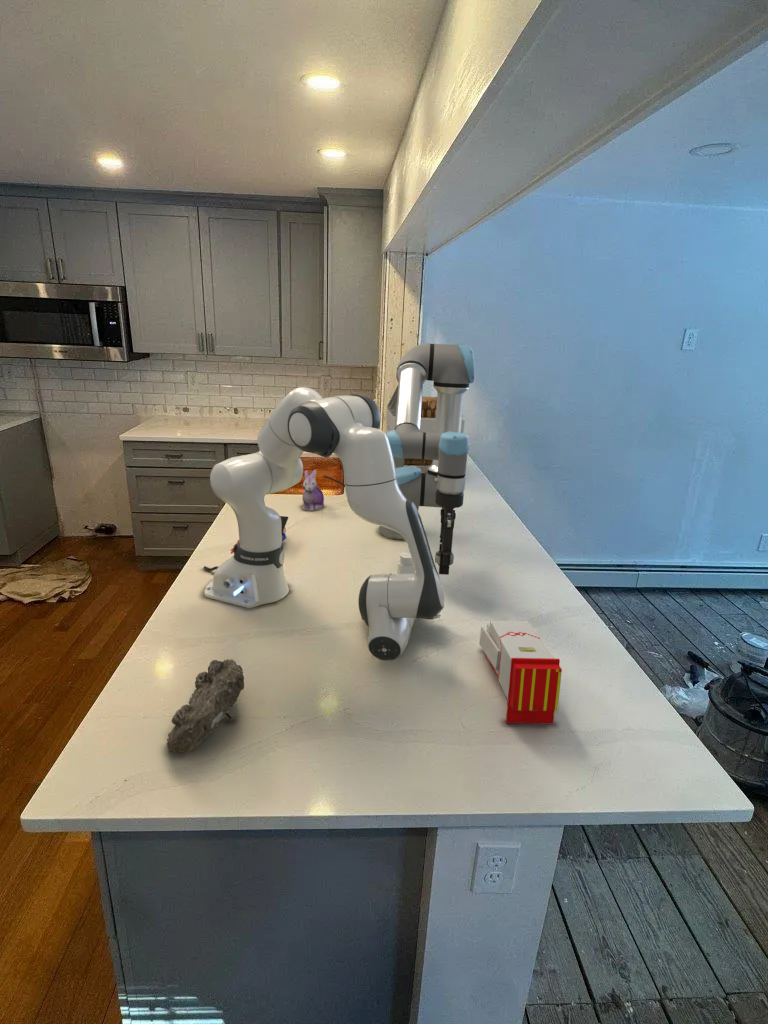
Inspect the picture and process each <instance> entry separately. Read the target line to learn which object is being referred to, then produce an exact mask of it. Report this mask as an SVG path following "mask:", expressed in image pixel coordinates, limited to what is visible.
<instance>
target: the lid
mask: <svg viewBox="0 0 768 1024" xmlns="http://www.w3.org/2000/svg"><path fill="white" fill-rule="evenodd" d="M454 558H455V555H454V553H453V552H452V553H451V555H450V566H452V565H453V564H454V560H455V559H454ZM434 563H436V564H437V565H438V564H439V565H440V553H439V550H438V551H436V552H435V555H434Z"/></svg>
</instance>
